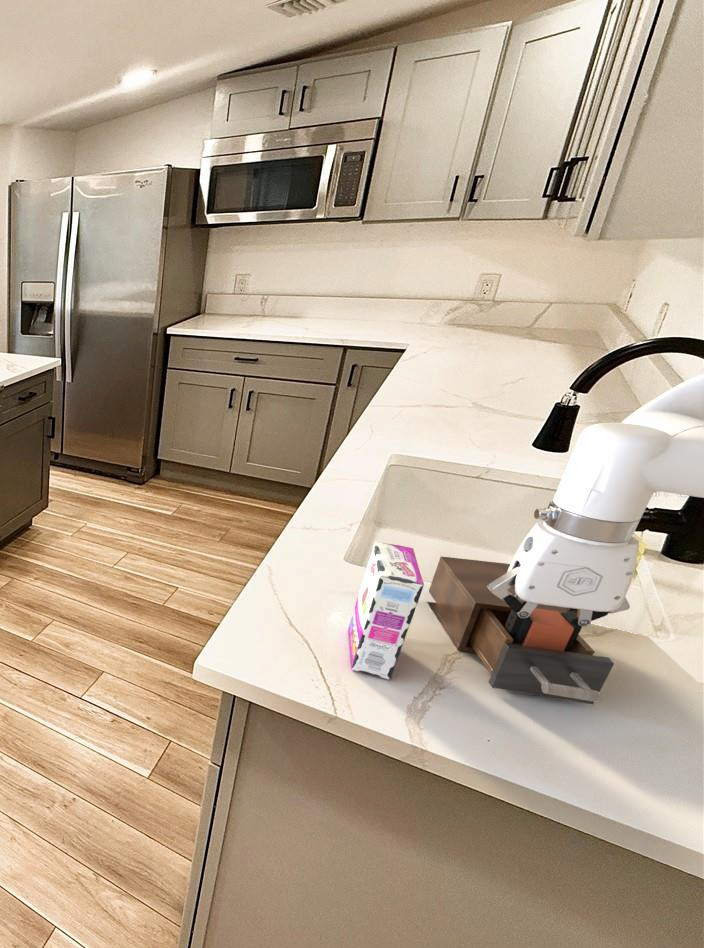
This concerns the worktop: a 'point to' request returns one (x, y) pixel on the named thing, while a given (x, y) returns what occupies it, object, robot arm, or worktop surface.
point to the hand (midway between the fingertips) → (536, 639)
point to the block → (548, 630)
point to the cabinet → (467, 596)
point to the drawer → (537, 663)
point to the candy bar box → (384, 609)
